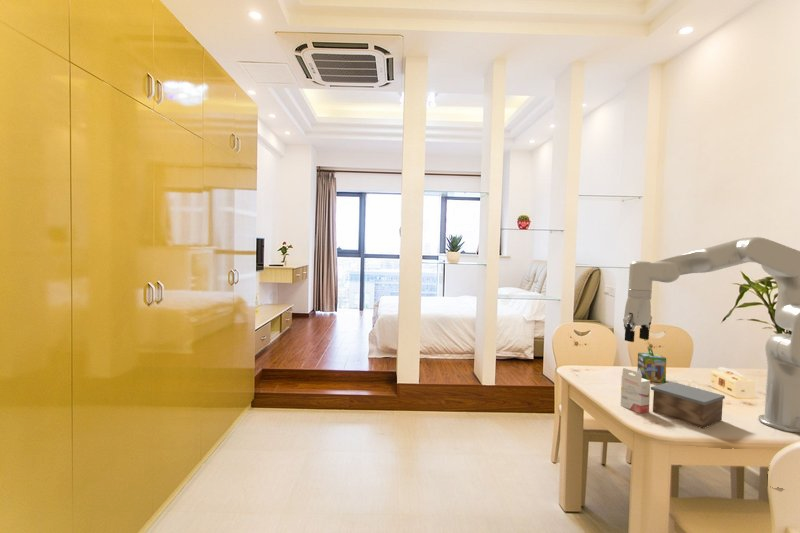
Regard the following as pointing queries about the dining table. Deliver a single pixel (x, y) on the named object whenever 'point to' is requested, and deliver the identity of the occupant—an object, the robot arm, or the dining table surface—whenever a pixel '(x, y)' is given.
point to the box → (687, 410)
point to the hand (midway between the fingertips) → (636, 340)
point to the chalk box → (652, 366)
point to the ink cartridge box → (635, 391)
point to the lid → (688, 393)
